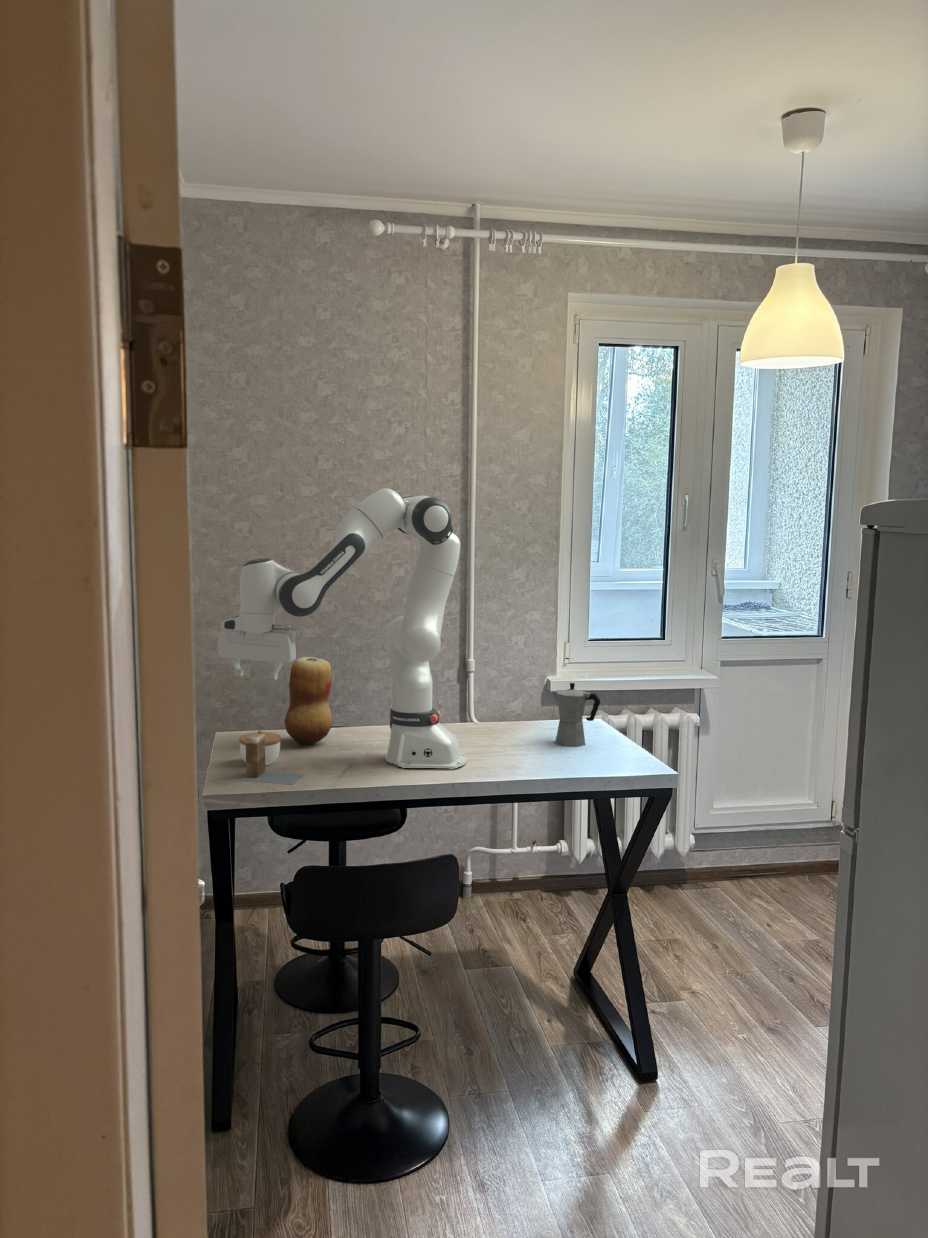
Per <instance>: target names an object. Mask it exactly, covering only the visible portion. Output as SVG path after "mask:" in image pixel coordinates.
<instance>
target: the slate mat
mask: <svg viewBox="0 0 928 1238" xmlns="http://www.w3.org/2000/svg"><path fill="white" fill-rule="evenodd" d="M306 774H307V773H295V772H294V773H292V772H284V771H283V772H282V771H270V770H269V771H268V770H265V773H264V774H262V775H261V776H259V777H258V778H252V777H246V775H245V776H243V777H242V778H241V779H239V780H238V781H241V782H252V783H263V784H277V785H288V786H290V785H291V786H293V785H295V784H296V783H297V782H298V781H300V779H302V778H304V776H305V775H306Z"/></svg>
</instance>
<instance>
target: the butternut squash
mask: <svg viewBox="0 0 928 1238" xmlns="http://www.w3.org/2000/svg"><path fill="white" fill-rule="evenodd" d="M289 674H290V675H289V682H288V687H289V688H288V691H289V706H288V708H287V712H286V714H285V718H284V722H283V723H284V725H285V730H286V733H287V734H288V736H289V737H290V738H291V739H292V740H294V741H295V743H297V744H298V745H308V744H309V745H311V744H316V743H318V742H320V741H321V740H323V739H324V738H325V737H327V736H328V734H329V732H330V730H331V728H332V727H333V715H332V714H333V713H332V710H331V708H330V704H329V700H330V699H329V697H330V693H331V690H332V689H331V688H332V679H333V678H332V677H333V675H332V667H331V663H330V662H329V661H327V660H325V659H324V658H318V657H313V656H304V657H299V658H296V659H295V660H294V661H293V662H292V665H291V668H290V673H289Z"/></svg>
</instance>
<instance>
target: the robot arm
mask: <svg viewBox="0 0 928 1238" xmlns="http://www.w3.org/2000/svg"><path fill="white" fill-rule="evenodd" d="M452 518H453V516H452V512H451V510H450V507H449V506H448V504H447V503H446V502H444V501H443V500H441V499H440V498H437V497H433V496H428V495H408V496H403V497H401V495H400V494H399V493H398V492H397V491H395V490H393V489H391V488H388V487H387V488H386V487H385V488H384V487H383V488H380V489H378V490H377V491H375V492H373V493H372V494H370V495H369V496H367V497H366V498H364V499H363V500H361V501H360V502H359V503H358V504H357V505H355V506H354V507H353V508H352V509H351V510H350V511H349V512H348V513H347V514H345V516H344V517H343V518H342V519H341V520H340V522H339V523H338V524H337V526H336V530H335V540H334V544H333V546H332V547H331V548H330V549H329V550H328V552H327V553H325V555H324V556H323V557H321V558H320V559H319V560H318V561H317V562H316V563H315V564H314V565H313V566H312V567H311V568H310V569H309V570H307V571H305V572H302V573H300V572H297V571H294V570H291V569H289V568H287V567H285V566H282V565H280V564H279V563H277V562H276V561H274V559H272V558H265V557H263V558H262V557H261V558H256V559H252V560H251V559H250V560H248V561H247V562H245V563H244V564H243V565H242V567H241V571H240V577H239V579H240V580H239V597H240V607H239V613H238V614H239V616H233V617H232V618H227V619H225V620H222V621H221V622H220V628H221V629H222V630H221V631H220V632H219V635H218V641H217V653H218V655H219V657H220V658H222V659H223V658H225V659H226V658H227V659H230V660H231V665H232V667H233V669H234V670H235V677H243V676H245V669H244V668H242V667H241V665H240V662H241V660H247V661H259V662H268V663H269V662H270V663H273V667H274V669H273V671H271V672H269V680H272V681H273V680H274V681H276V680H278V679H279V672H280V670H281V669H282V667H283V664H291V663H294V662H295V661H296V660H297V647H296V638H297V637H296V636H297V635H296V631H295V630H294V628H292V627H291V626H290V625H281V624H276V610H277V609H278V608H283V610H284V611H286V612H287V613H288V614H290V616H295V617H300V618H302V617H306V616H310V615H312V614H313V613H314V612H315V611H317V610H318V608H319V607H320V605H321V603H322V601H323V599H324V596H325V594H326V593H327V591H328V590H329V589H330V588H331V586H332V585H333V584H334V583H335V582H336V581H337V580H339V578H340V577H341V576H342V575H343V574H344V573H345V572H347V571H348V570H349V569H350V568H351V566H353V564H355V562H357V560H359V559H360V558H362V557H363V556H364V555H366V554H368V553H369V552H370V551H371V550H372V549H374V548H375V547H376V546H377V545H379V544H380V543H381V542H382V541H383V540H384V539H385V538H386V537H387V536H389V534H390V533H392V532H394V531H395V530H398V531H399V532H401V533H403V534H404V535H409V536H411V537H414V538H417V539H418V541H419V542H418V543H419V552H418V554H417V558H416V560H415V563H414V567H413V570H412V573H411V576H410V578H409V582H408V585H407V588H406V592H405V593H406V594H405V595H406V597H405V598H406V600H405V608H404V613H403V615H401V616H398V617H395V618H394V619H392V620H391V621H390V622H389V624H388V626H387V628H386V638H387V639H386V640H387V650H388V657H389V658H388V661H389V667H390V677H391V708H390V709H389V710H390V711H389V729H390V734H389V741H388V747H387V750H386V751H387V752H386V754H385V757H384V759H385V761H386V762H387V763H389V762H390V763H389V764H392V763H393V764H392V765H394V764H395V766H396V765H397V766H396V767H398V766H399V767H402V768H401V769H403V768H458V767H460V766H462V765H464V764H465V763H466V762H467V763H468V761H469V759H468V754H466V753H465V752H461V750H460V748H461V746H460V743H459V739H458V737H457V735H455V734H454V733H453V732H452V731H450V730H449V729H448V728H446V726H444V725H443V724H442V723H440V715H441V710H438V711H437V710H436V709H434V708H433V676H432V673H431V668H430V661H432V660H433V659H435V658H436V656H437V655H438V654H439V652H440V650H441V644H442V643H441V634H442V630H443V629H442V627H443V622H444V616H445V608H446V605H447V600H448V599H449V598H448V597H449V594H450V591H451V588H452V585H453V582H454V578H455V576H456V572H457V568H458V563H459V560H460V552H461V541H460V538H459V537H458V536H457V535H456V534H455V533H453V525H452V521H453V519H452ZM467 760H468V761H467ZM467 763H466V764H467ZM466 764H465V765H466ZM465 765H464V766H465ZM399 767H398V768H399ZM458 769H459V768H458Z"/></svg>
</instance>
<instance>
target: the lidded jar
mask: <svg viewBox="0 0 928 1238" xmlns="http://www.w3.org/2000/svg"><path fill="white" fill-rule="evenodd" d="M254 733H255V734H265V767H266V766H270V765H273V764H274V763H275V762H276V760H277V759H278V758H279V754H280V751H281V739H282V736H281V735H280V734H278V733H275V732H272V731H271V732H269V731H263V730H258V731H257V732H250V733H245V734H242V735H241V736H239V737H238V741H239V751H240V756H241V758H242V760H243V762H244V763H246V738H247V737H249V736H250V735H252V734H254Z"/></svg>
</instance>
